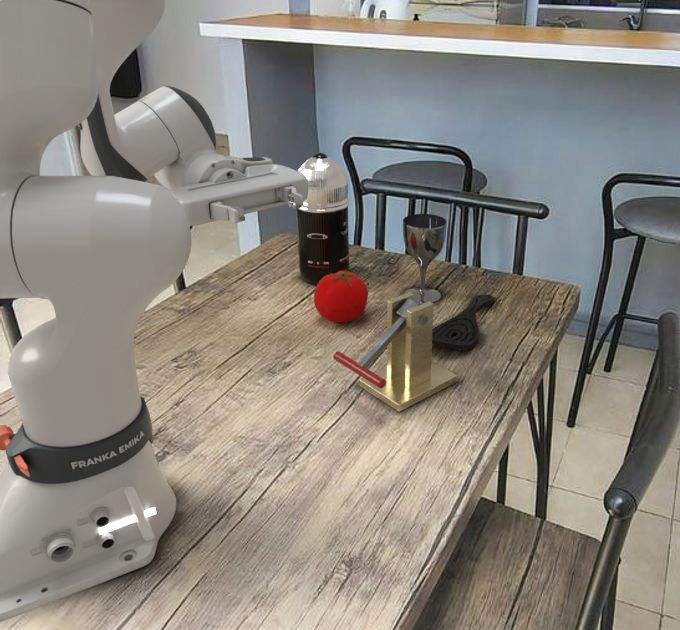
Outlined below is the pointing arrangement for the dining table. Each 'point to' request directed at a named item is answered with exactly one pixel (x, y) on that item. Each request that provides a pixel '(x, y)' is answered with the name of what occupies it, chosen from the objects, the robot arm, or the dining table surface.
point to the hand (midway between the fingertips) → (270, 209)
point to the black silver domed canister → (323, 220)
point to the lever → (376, 349)
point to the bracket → (410, 359)
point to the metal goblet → (424, 248)
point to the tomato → (341, 296)
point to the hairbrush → (461, 326)
